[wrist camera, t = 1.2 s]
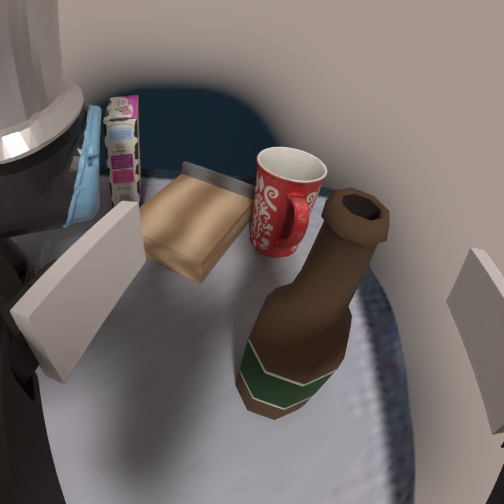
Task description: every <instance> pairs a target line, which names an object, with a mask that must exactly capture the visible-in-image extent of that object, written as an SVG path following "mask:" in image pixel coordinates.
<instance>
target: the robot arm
mask: <svg viewBox="0 0 504 504" xmlns="http://www.w3.org/2000/svg"><path fill="white" fill-rule="evenodd" d="M100 127H101V108H100V107H99V106H92V105H87V106H85V107H84V100H83V95H82V91H81V89H80V88H79V87H78V86H77V85H76V84H75V83H73V82H71V81H69V80H66V79H64V78H63V70H62V61H61V50H60V38H59V22H58V0H0V504H66V502H65V499H64V496H63V493H62V490H61V487H60V483H59V480H58V476H57V473H56V469H55V466H54V462H53V458H52V454H51V450H50V445H49V441H48V436H47V431H46V426H45V421H44V415H43V409H42V403H41V396H40V389H39V381H38V377H37V374H36V372H35V370H36V368H37V367H38V365H40V366H41V368H42V370H43V371H44V373H45V374H46V376H47V377H50V378H52V379H54V380H56V381H59V382H61V383H63V384H65V383H66V381H67V379H68V378H69V376H70V374H71V373H72V371H73V370H74V368H75V366H76V365H77V363H78V361H79V360H80V358H81V357H82V355H83V353H84V352H85V350H86V349H87V347H88V346H89V344H90V342H91V341H92V339H93V338H94V336H95V335H96V333H97V332H98V330H99V329H100V327H101V326H102V324H103V322H104V321H105V319H106V318H107V316H108V315H109V314H110V312H111V311H112V309H113V308H114V306H115V305H116V303H117V302H118V300H119V299H120V297H121V296H122V295H123V293H124V292H125V290H126V289H127V287H128V286H129V285H130V283H131V282H132V280H133V279H134V277H135V276H136V275H137V273H138V272H139V271H140V269H141V268H142V266H143V265H144V264H145V262H146V258H145V251H144V244H143V236H142V228H141V220H140V211H139V202H130V201H121V202H120V203H119V204H118V205H116V206H115V207H114V208H113V209H112V210H111V211H109V212H108V213H107V214H106V215H105V216H104V217H103V218H102V219H100V220H99V221H98V222H97V223H96V224H95V225H94V226H93V227H92V228H90V229H89V230H88V231H87V232H86V233H85V234H84V235H83V236H82V237H81V238H80V239H79V240H77V241H76V242H75V243H74V244H73V245H72V246H71V247H70V248H69V249H68V250H67V251H66V252H65V253H64V254H63V255H62V256H61V257H60V258H59V259H58V260H54V261H52V262H51V263H49V264H47V265H46V266H44V267H43V268H42V269H41V270H40V271H39V272H38V273H37V274H36V275H35V276H34V272H33V269H32V266H31V264H30V262H29V260H28V258H27V256H26V255H25V253H24V252H23V251H22V250H21V249H20V248H19V247H18V246H17V245H16V244H15V243H14V242H13V241H12V240H11V239H10V238H9V237H12V236H18V235H23V234H29V233H34V232H40V231H46V230H51V229H57V228H67V227H68V226H69V225H72V224H77V223H81V222H85V221H89V220H91V219H92V218H94V217H95V216H96V214H97V213H98V211H99V208H100V163H99V162H100ZM446 302H447V304H448V306H449V309H450V311H451V313H452V316H453V318H454V320H455V323H456V325H457V328H458V330H459V333H460V335H461V338H462V340H463V343H464V346H465V348H466V351H467V353H468V356H469V359H470V362H471V365H472V368H473V371H474V373H475V376H476V380H477V383H478V386H479V389H480V392H481V395H482V399H483V402H484V405H485V409H486V413H487V416H488V420H489V424H490V428H491V432H492V434H498V433H503V432H504V277H503V276H502V274H501V273H500V272H499V270H498V269H497V267H496V266H495V265H494V263H493V262H492V260H491V259H490V258H489V256H488V255H487V253H486V252H485V251H484V250H481V249H476V248H470V250H469V252H468V255H467V257H466V259H465V262H464V264H463V266H462V269H461V271H460V273H459V276H458V278H457V280H456V282H455V284H454V286H453V289H452V290H451V293H450V295H449V297H448V299H447V301H446ZM501 447H502V448H503V447H504V442H503V444H502V445H501ZM486 504H504V464H503V467H502V469H501V472H500V474H499V477H498V479H497V481H496V483H495V485H494V488H493V490H492V492H491V494H490V496H489V498H488V500H487V502H486Z"/></svg>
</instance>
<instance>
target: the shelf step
mask: <svg viewBox="0 0 504 504" xmlns="http://www.w3.org/2000/svg"><path fill="white" fill-rule="evenodd" d="M255 188H256V186H254V185H251V184H248V183H246V182H243V181H240V180H237V179H235V178H232V177H229V176H226V175H223V174H220V173H218V172H215V171H212V170H209V169H206V168H203V167H200V166H197V165H195V164H192V163H188V162H184V163H182V174H181V175H180V176H178V177H177V178H176V179H175V180H173V181H172V182H171V183H169V184H168V185H167V186H166V187H164V188H163V189H162V190H161V191H159V192H158V193H157V194H156V195H154V196H153V197H152V198H151V199H149V200H148V201H147V202H146V203H144V204H143V205H142V206H141V207H140V208H139V211H140V220H141V228H142V236H143V244H144V251H145V256H146V257H148V258H150V259H152V260H153V261H155V262H157V263H159V264H161V265H163V266H165V267H167V268H169V269H171V270H173V271H175V272H177V273H179V274H181V275H183V276H185V277H187V278H189V279H191V280H193V281H195V282H197V283H199V284H201V283H202V281H203V280H204V279H205V277H206V276H207V275H208V274H209V272H210V271H211V270H212V268H213V267H214V266H215V265H216V263H217V262H218V261H219V259H220V258H221V257H222V256H223V254H224V253H225V252H226V251H227V249H228V248H229V247H230V245H231V244H232V243H233V242H234V240H235V239H236V238H237V237H238V235H239V234H240V233H241V231H242V230H243V229H244V228H245V226H246V225H247V224H248V223H249V221H250V220H251V219H252V216H253V208H254V207H253V206H254V198H255Z"/></svg>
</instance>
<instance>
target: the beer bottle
mask: <svg viewBox="0 0 504 504" xmlns="http://www.w3.org/2000/svg"><path fill="white" fill-rule="evenodd" d="M321 217H322V218H323V219H324V222H323V224H322V226H321V229H320V231H319V233H318V235H317V237H316V240H315V242H314V244H313V246H312V248H311V250H310V252H309V255H308V257H307V259H306V261H305V263H304V265H303V267H302V269H301V271H300V273H299V274H298V275H297V277H296V278H295V280H294V281H293V283H291V284H288V285H285V286H282V287H279V288H276V289H275V290H274V291H273V292H271V293H270V294H269V295H268V296H267V297H266V299H265V302H264V304H263V306H262V309H261V311H260V313H259V315H258V318H257V320H256V322H255V324H254V327H253V329H252V331H251V334H250V336H249V338H248V342H247V346H246V349H245V353H244V356H243V360H242V363H241V367H240V371H239V374H238V378H237V382H236V387H237V389H238V391H239V394H240V396H241V398H242V400H243V402H244V404H245V406H246V408H247V410H249V411H251V412H254V413H257V414H259V415H262V416H265V417H268V418H271V419H274V420H275V419H277V418H280V417H282V416H284V415H287V414H289V413H291V412H293V411H296V410H298V409H299V408H301V407H302V406H303V405H305V404H306V402H307V401H308V400H309V399H310V398H311V397H312V396H313V395H314V394H315V393H316V392H317V391H318V390H319V389H320V388H321V386H322V385H323V384H324V383H325V382H326V381H327V380H328V379H329V378H330V376H331V375H332V374H333V373H334V372H335V371H336V370H337V368H338V367H339V365H340V364H341V362H342V361H343V359H344V357H345V352H346V347H347V343H348V338H349V333H350V327H351V319H352V315H351V312H350V309H349V307H348V306H349V304H350V302H351V300H352V298H353V296H354V294H355V292H356V290H357V287H358V285H359V283H360V281H361V279H362V277H363V275H364V273H365V271H366V269H367V266H368V264H369V262H370V260H371V258H372V256H373V253H374V251H375V249H376V246H377V244H378V243H380V242H384V241H386V240H387V235H388V229H389V210H388V209H387V208H386V207H385V206H384V205H383V204H382V203H381V202H380V201H379V200H377V199H376V198H375V197H374V196H372V195H370V194H367V193H364V192H362V191H359V190H356V189H354V188H348V189H340V190H334V191H333V193H332V194H331V195H330V196H329V198H328V199H327V200H326V202H325V206H324V209H323V212H322V215H321Z"/></svg>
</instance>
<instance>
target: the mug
mask: <svg viewBox="0 0 504 504" xmlns="http://www.w3.org/2000/svg"><path fill="white" fill-rule="evenodd" d="M257 162H258V169H257V177H256V188H255V198H254V206H253V207H254V208H253V217H252V226H251V235H250V238H251V242H252V244H253V246H254V247H255V248H256V249H257V250H258V251H259V252H261V253H263V254H265V255H267V256H271V257H286V256H289V255H291V254H292V253H294V252H295V251H296V249H297V247H298V244H299V243H300V242H301V240H302V239H303V237H304V235H305V233H306V230H307V227H308V223H309V216H310V214H311V211H312V208H313V206H314V203H315V201H316V198H317V195H318V193H319V190H320V187H321V184H322V182H323V180H324V178H325V177H326V175H327V168H326V166H325V165H324V163H323V162H322V161H320V160H319V159H318V158H316V157H315V156H313V155H311V154H309V153H307V152H304V151H301V150H298V149H294V148H288V147H272V148H267V149H265V150H262V151H261V152H260V153H259V154H258V156H257Z"/></svg>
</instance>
